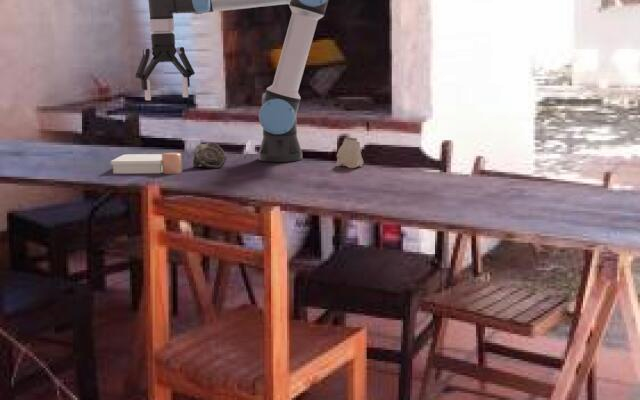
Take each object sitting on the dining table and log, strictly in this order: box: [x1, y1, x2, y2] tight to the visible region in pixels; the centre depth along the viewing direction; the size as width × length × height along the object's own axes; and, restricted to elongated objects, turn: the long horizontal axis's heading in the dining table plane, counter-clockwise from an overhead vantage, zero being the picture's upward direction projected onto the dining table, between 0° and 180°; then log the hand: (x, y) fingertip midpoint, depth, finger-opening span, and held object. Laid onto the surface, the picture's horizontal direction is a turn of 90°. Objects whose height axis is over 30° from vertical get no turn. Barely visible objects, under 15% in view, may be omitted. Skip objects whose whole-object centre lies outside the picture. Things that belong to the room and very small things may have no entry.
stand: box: [110, 153, 163, 175], centre depth 299 cm, size 16×16×4 cm
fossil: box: [192, 142, 227, 170], centre depth 303 cm, size 11×9×10 cm
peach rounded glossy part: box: [161, 152, 183, 175], centre depth 292 cm, size 6×6×6 cm
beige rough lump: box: [336, 137, 364, 169], centre depth 299 cm, size 9×8×10 cm
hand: (167, 98), depth 302 cm, fingers open, 13 cm apart
